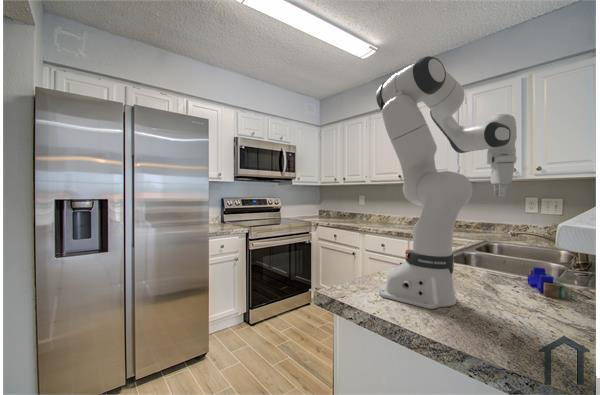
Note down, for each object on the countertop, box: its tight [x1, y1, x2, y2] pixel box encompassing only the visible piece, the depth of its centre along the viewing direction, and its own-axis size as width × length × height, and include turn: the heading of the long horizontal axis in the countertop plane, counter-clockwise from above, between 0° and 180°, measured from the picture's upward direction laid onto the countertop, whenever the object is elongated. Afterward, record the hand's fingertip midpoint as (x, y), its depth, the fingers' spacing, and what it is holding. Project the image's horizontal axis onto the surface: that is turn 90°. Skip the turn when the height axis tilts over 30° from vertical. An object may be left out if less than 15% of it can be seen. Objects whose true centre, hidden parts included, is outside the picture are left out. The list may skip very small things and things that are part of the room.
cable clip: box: [527, 266, 554, 295], centre depth 97 cm, size 12×4×6 cm, turn 150°
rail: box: [528, 268, 566, 300], centre depth 97 cm, size 5×18×4 cm, turn 154°
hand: (499, 195), depth 108 cm, fingers open, 8 cm apart
